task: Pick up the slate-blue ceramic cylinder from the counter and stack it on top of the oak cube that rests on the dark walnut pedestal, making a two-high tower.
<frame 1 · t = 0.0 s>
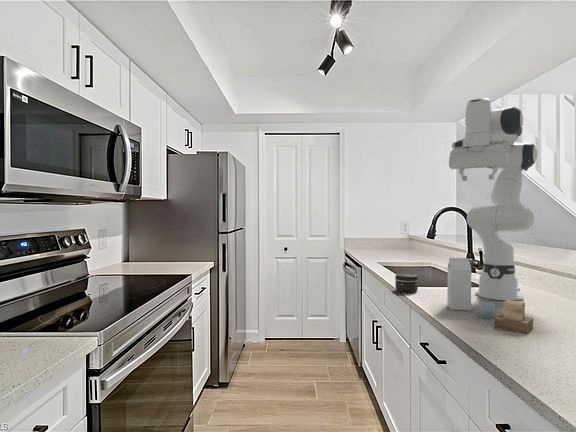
hand: (477, 180, 155), 48 cm above the countertop, tool pointing down, fingers open, 8 cm apart
milk carton: (458, 309, 159), on the countertop
ceramic cylinder: (487, 317, 145), on the countertop
oak cube: (514, 318, 132), point 3 cm above the countertop, touching walnut pedestal
walnut pedestal: (513, 327, 132), on the countertop
jar: (406, 292, 192), on the countertop
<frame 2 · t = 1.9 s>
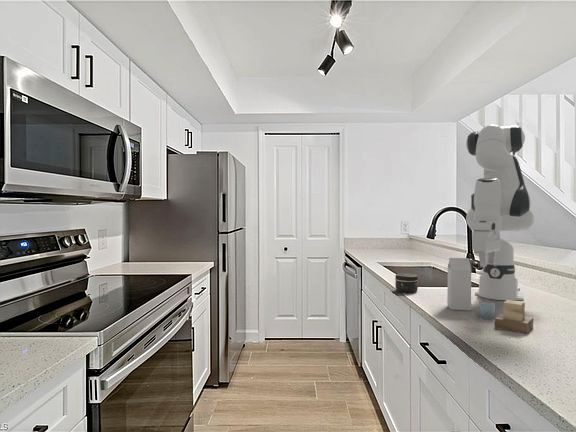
hand: (487, 265, 145), 18 cm above the countertop, tool pointing down, fingers open, 8 cm apart
nothing on the countertop moved.
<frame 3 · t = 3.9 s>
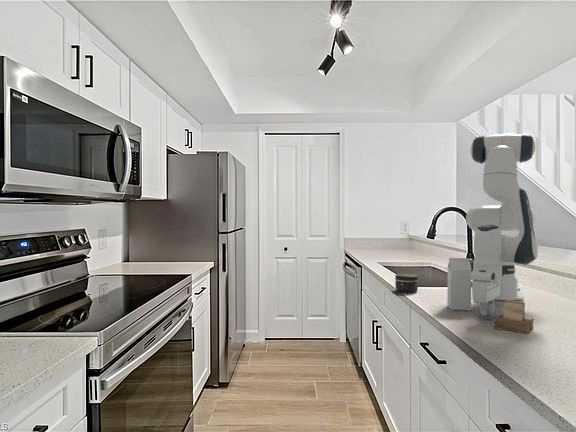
hand: (487, 312, 145), 2 cm above the countertop, tool pointing down, fingers closed on ceramic cylinder, 5 cm apart
ceramic cylinder: (487, 317, 145), on the countertop, touching gripper
everything else where it was.
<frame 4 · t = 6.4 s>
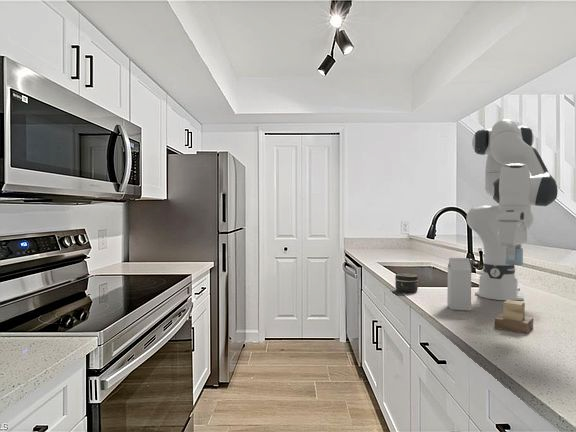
hand: (514, 259, 132), 21 cm above the countertop, tool pointing down, fingers closed on ceramic cylinder, 5 cm apart
ceramic cylinder: (514, 264, 132), point 20 cm above the countertop, touching gripper
everything else where it was.
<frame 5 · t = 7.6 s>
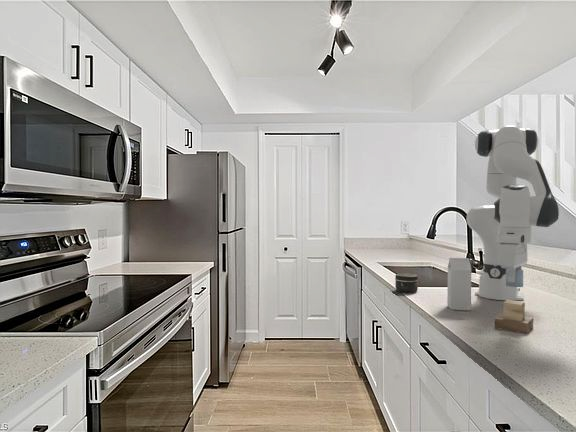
hand: (514, 280, 132), 15 cm above the countertop, tool pointing down, fingers closed on ceramic cylinder, 5 cm apart
ceramic cylinder: (514, 285, 132), point 13 cm above the countertop, touching gripper
everything else where it was.
when the fingers open (11 cm above the countertop, at t = 8.8 s): ceramic cylinder stays where it is, resting on oak cube.
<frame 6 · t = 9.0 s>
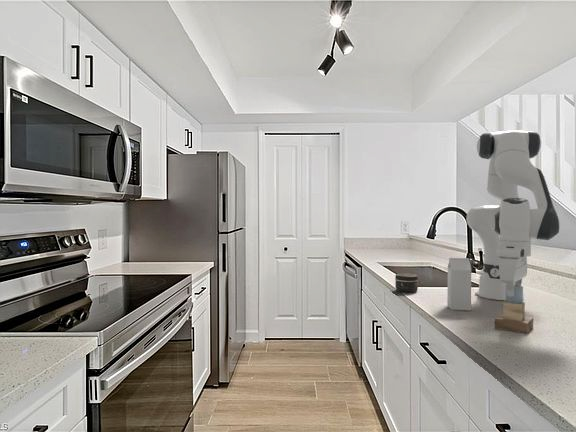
hand: (514, 293, 132), 11 cm above the countertop, tool pointing down, fingers open, 7 cm apart
ceramic cylinder: (514, 302, 132), point 8 cm above the countertop, touching oak cube
oak cube: (514, 318, 132), point 3 cm above the countertop, touching ceramic cylinder, walnut pedestal
everything else where it was.
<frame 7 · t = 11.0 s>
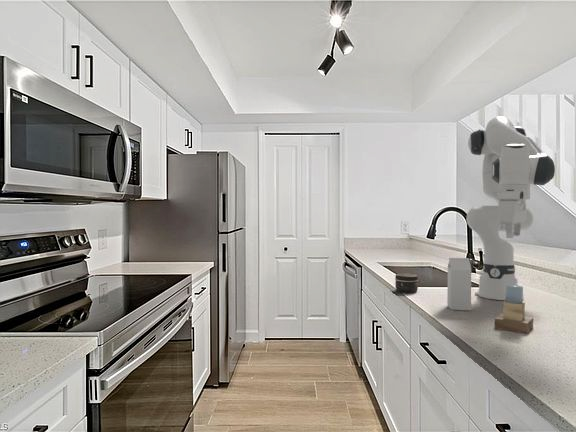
hand: (513, 236, 137), 28 cm above the countertop, tool pointing down, fingers open, 8 cm apart
nothing on the countertop moved.
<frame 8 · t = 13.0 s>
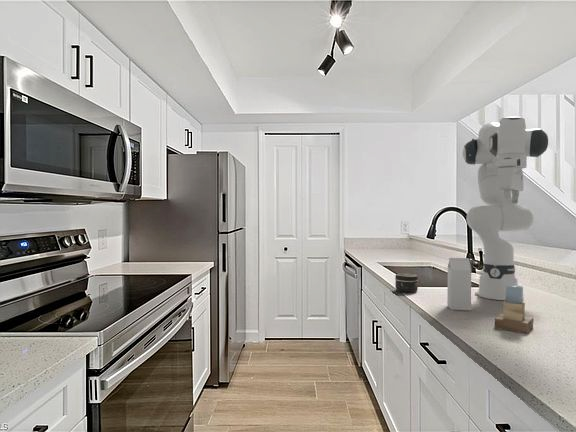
hand: (511, 203, 145), 39 cm above the countertop, tool pointing down, fingers open, 8 cm apart
nothing on the countertop moved.
at the end: ceramic cylinder 0.1 cm off-centre on the oak cube, point 5.0 cm above the oak cube's base; ceramic cylinder tilted 0°; oak cube 0.0 cm off-centre on the walnut pedestal, point 3.0 cm above the walnut pedestal's base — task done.
